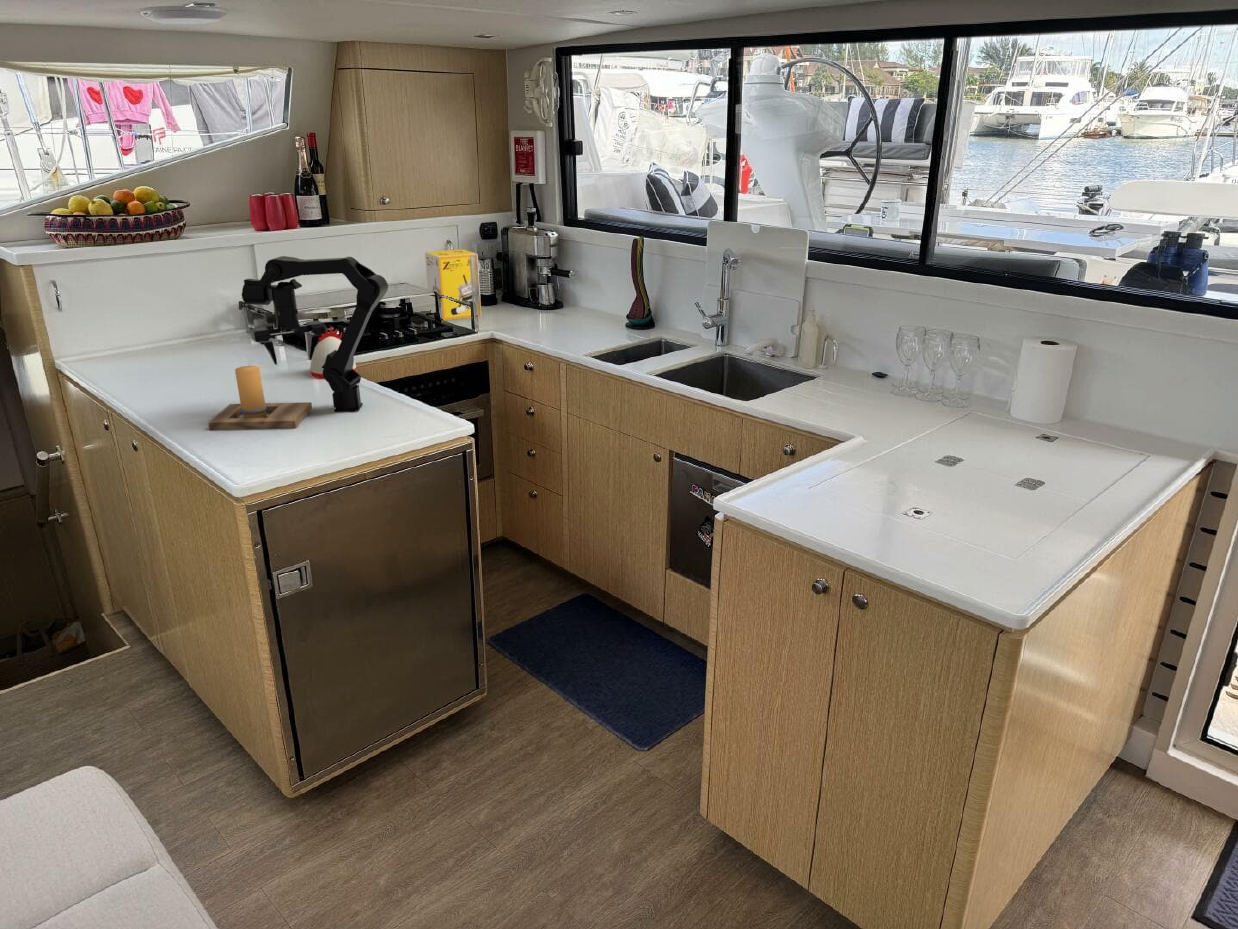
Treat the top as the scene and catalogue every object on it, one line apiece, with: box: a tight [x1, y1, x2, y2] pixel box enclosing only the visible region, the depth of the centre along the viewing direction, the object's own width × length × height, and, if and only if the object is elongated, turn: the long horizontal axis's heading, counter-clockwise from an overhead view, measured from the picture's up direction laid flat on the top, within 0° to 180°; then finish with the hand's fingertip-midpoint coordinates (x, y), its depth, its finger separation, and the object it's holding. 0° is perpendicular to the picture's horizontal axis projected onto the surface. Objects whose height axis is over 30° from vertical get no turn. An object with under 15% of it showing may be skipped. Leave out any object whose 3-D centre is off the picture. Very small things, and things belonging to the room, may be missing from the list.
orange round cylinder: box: [234, 365, 268, 418], centre depth 231 cm, size 6×6×14 cm
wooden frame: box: [207, 401, 313, 431], centre depth 234 cm, size 22×16×2 cm
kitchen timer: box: [309, 325, 358, 380], centre depth 274 cm, size 14×14×15 cm
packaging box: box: [424, 248, 482, 322], centre depth 354 cm, size 16×16×25 cm
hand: (293, 361), depth 239 cm, fingers open, 9 cm apart
